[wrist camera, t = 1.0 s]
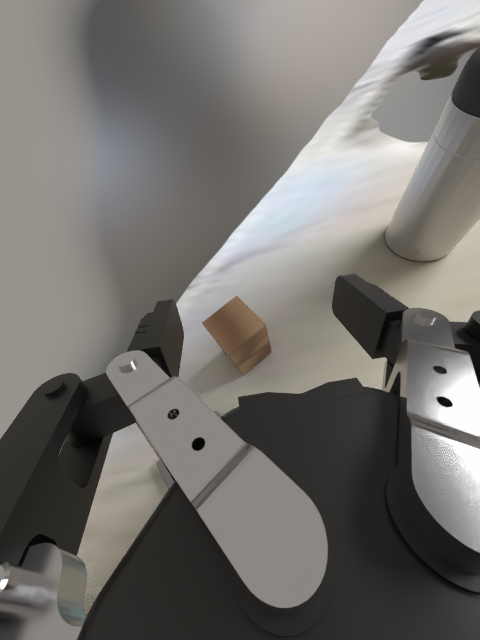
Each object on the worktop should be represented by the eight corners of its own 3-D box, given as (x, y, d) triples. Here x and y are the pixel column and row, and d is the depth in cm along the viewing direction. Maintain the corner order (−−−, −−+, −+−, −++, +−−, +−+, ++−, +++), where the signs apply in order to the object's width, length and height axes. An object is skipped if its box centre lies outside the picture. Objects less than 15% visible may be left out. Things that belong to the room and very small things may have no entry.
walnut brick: (248, 327, 34) (236, 295, 26) (271, 351, 32) (265, 324, 24) (222, 349, 33) (201, 323, 26) (243, 375, 31) (228, 355, 23)
